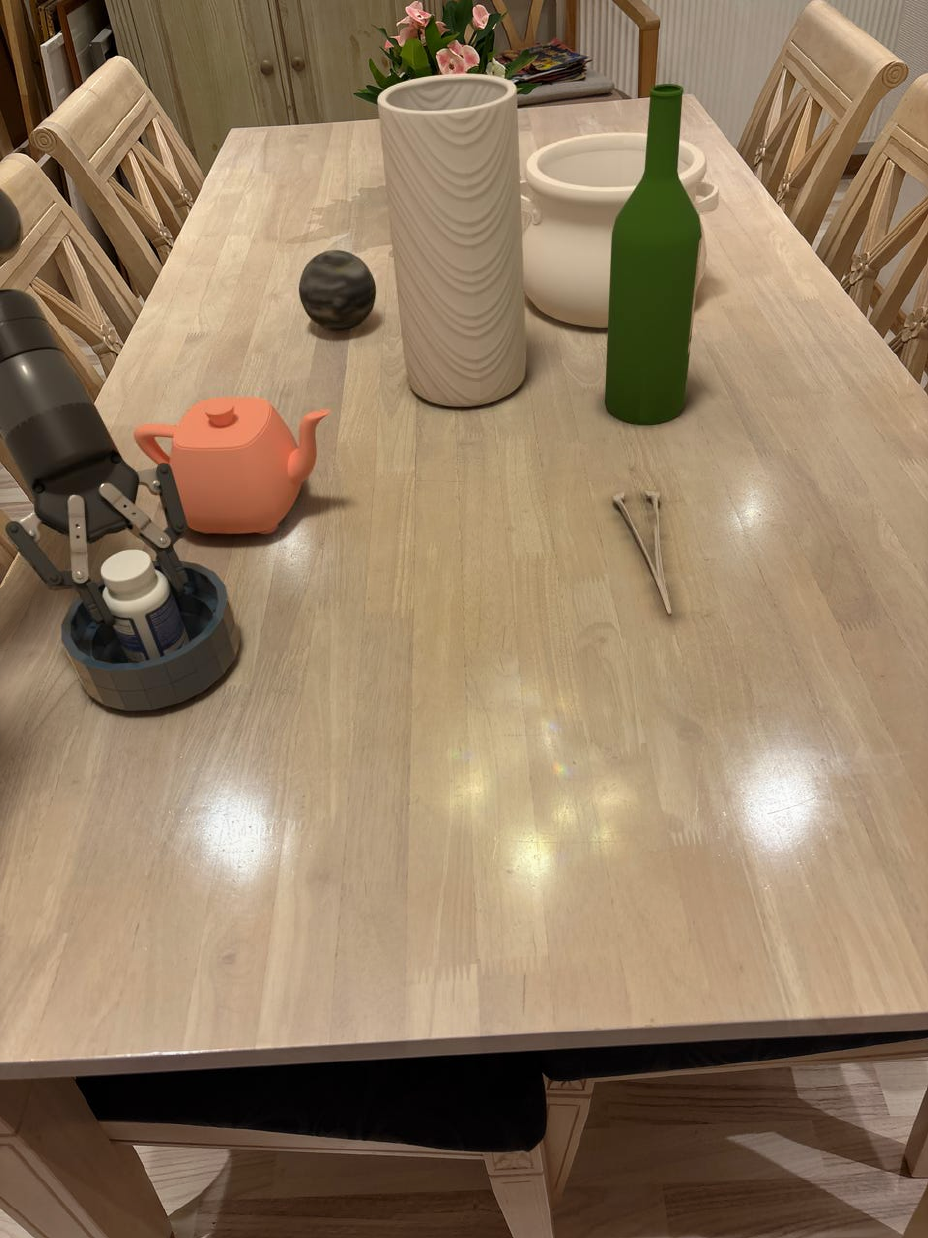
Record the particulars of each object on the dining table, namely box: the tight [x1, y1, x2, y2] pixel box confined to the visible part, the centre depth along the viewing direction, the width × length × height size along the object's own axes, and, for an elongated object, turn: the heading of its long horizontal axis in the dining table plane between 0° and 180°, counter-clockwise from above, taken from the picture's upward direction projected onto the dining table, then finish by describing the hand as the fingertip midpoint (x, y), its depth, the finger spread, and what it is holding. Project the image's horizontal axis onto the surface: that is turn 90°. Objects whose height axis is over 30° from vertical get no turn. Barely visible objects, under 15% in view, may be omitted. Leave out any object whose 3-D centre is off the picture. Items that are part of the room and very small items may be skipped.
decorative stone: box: [298, 249, 377, 332], centre depth 126 cm, size 10×10×10 cm
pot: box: [520, 131, 720, 329], centre depth 125 cm, size 26×24×18 cm
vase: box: [376, 73, 527, 408], centre depth 106 cm, size 14×14×32 cm
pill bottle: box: [100, 549, 189, 663], centre depth 80 cm, size 5×5×10 cm
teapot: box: [133, 396, 331, 535], centre depth 96 cm, size 13×20×12 cm, turn 85°
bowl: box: [60, 560, 241, 712], centre depth 82 cm, size 14×14×6 cm
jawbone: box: [611, 489, 672, 616], centre depth 90 cm, size 18×5×2 cm, turn 3°
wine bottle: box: [604, 83, 702, 426], centre depth 99 cm, size 9×9×32 cm
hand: (146, 608), depth 78 cm, fingers closed on pill bottle, 5 cm apart
